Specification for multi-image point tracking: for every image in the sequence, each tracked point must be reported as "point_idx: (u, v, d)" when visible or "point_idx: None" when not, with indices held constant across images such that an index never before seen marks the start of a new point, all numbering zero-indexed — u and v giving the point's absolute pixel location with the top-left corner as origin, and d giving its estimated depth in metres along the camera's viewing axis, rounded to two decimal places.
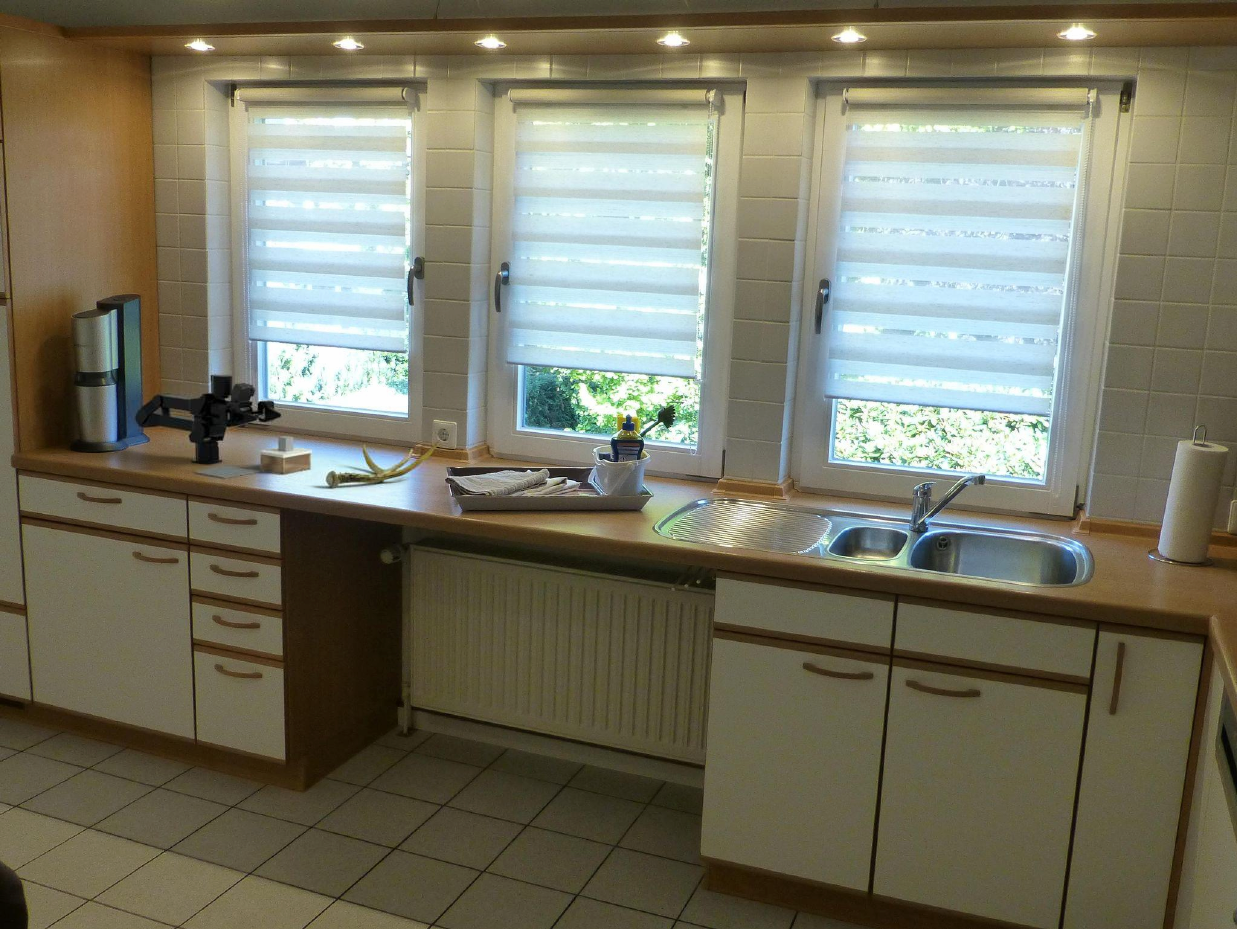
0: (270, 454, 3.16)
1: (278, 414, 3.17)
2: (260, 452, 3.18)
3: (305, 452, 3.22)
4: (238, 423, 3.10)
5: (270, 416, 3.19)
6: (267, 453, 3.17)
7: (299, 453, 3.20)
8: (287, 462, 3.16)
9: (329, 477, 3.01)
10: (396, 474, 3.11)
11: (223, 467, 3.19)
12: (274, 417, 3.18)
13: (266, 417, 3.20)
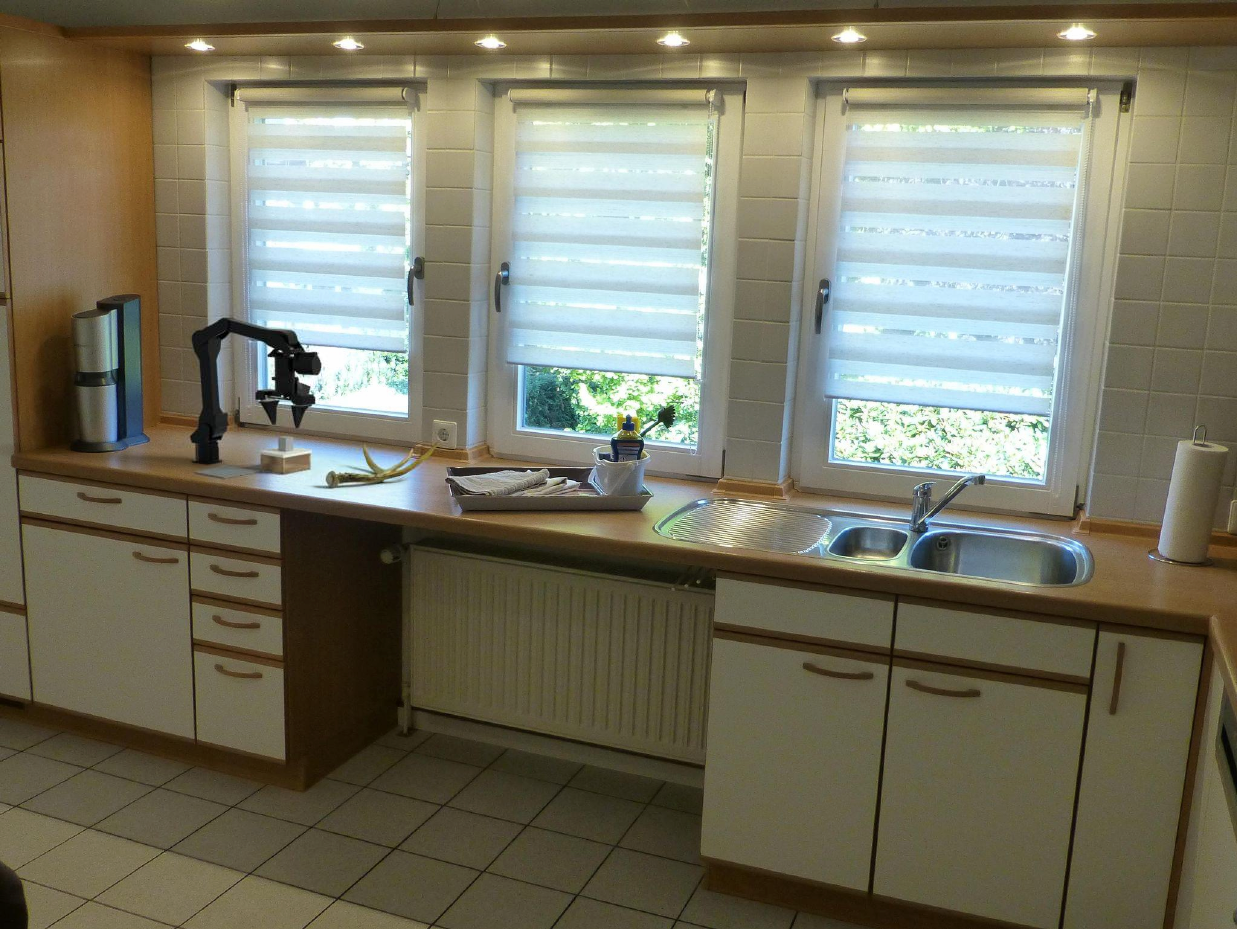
0: (270, 454, 3.16)
1: (275, 422, 3.22)
2: (260, 452, 3.18)
3: (305, 452, 3.22)
4: (296, 411, 3.14)
5: (271, 410, 3.21)
6: (267, 453, 3.17)
7: (299, 453, 3.20)
8: (287, 462, 3.16)
9: (329, 477, 3.01)
10: (396, 474, 3.11)
11: (223, 467, 3.19)
12: (271, 417, 3.21)
13: (269, 404, 3.20)
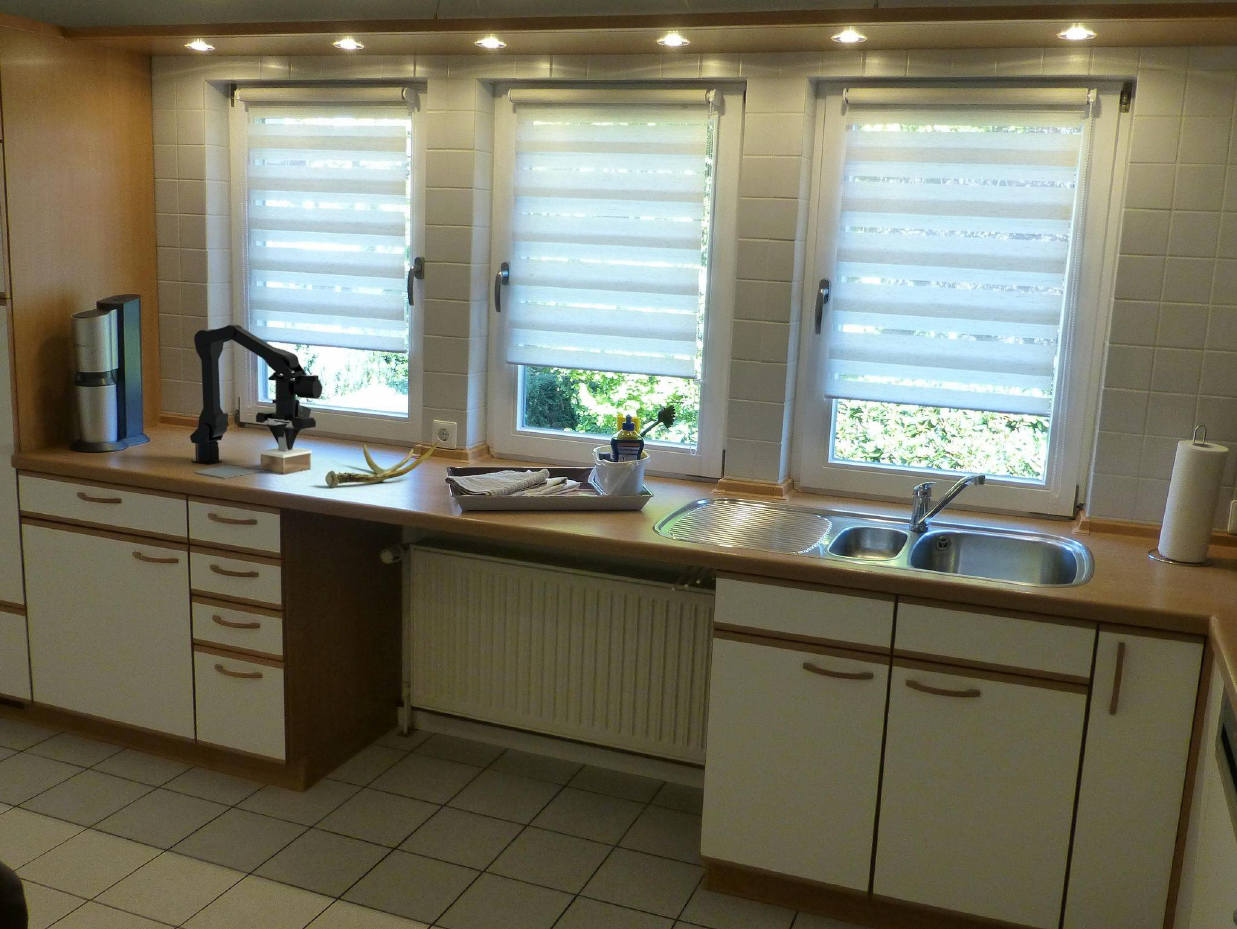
0: (270, 454, 3.16)
1: None
2: (260, 452, 3.18)
3: (305, 452, 3.22)
4: (289, 433, 3.17)
5: (279, 434, 3.21)
6: (267, 453, 3.17)
7: (299, 453, 3.20)
8: (287, 462, 3.16)
9: (328, 477, 3.02)
10: (396, 474, 3.11)
11: (223, 467, 3.19)
12: None
13: (276, 428, 3.20)
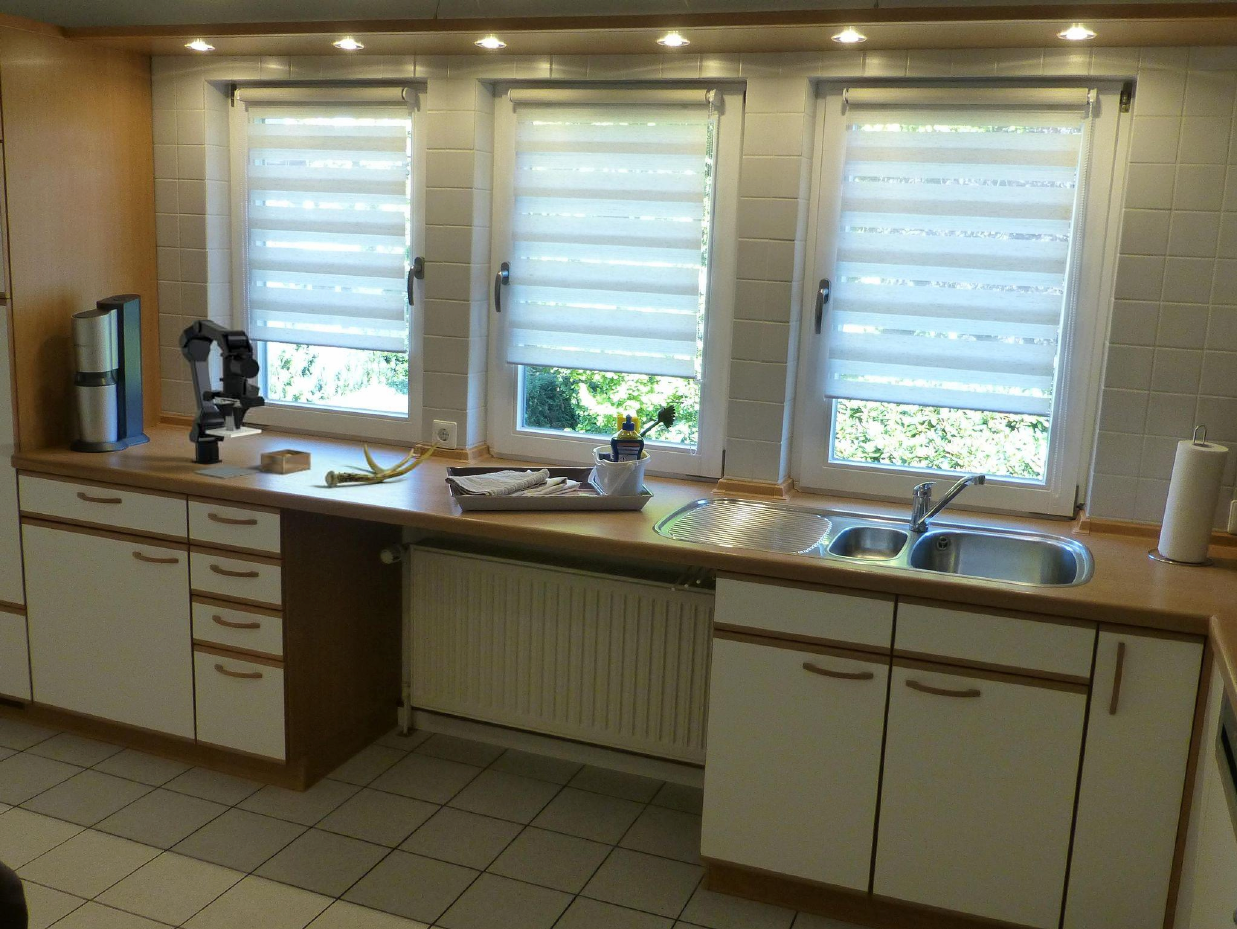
0: (217, 434, 3.08)
1: None
2: (207, 432, 3.10)
3: (254, 432, 3.14)
4: (237, 412, 3.09)
5: (226, 413, 3.12)
6: (214, 432, 3.09)
7: (247, 433, 3.12)
8: (287, 462, 3.16)
9: (328, 476, 3.02)
10: (395, 474, 3.11)
11: (223, 467, 3.19)
12: None
13: (224, 407, 3.11)
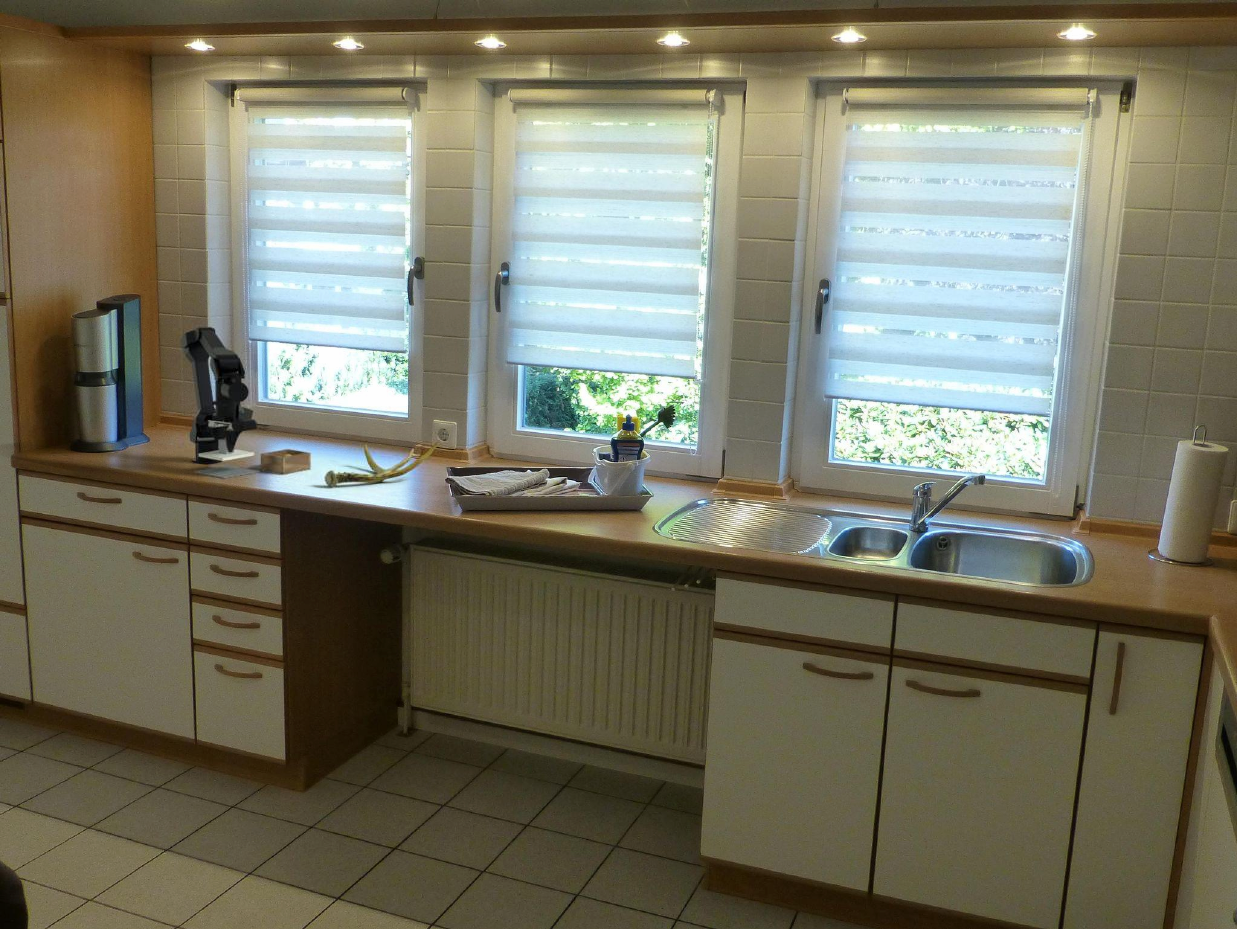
0: (209, 457, 3.08)
1: None
2: (199, 455, 3.10)
3: (246, 455, 3.14)
4: (229, 435, 3.09)
5: (219, 436, 3.13)
6: (206, 456, 3.09)
7: (240, 456, 3.12)
8: (287, 462, 3.16)
9: (327, 476, 3.02)
10: (395, 474, 3.11)
11: (223, 467, 3.19)
12: None
13: (217, 430, 3.12)
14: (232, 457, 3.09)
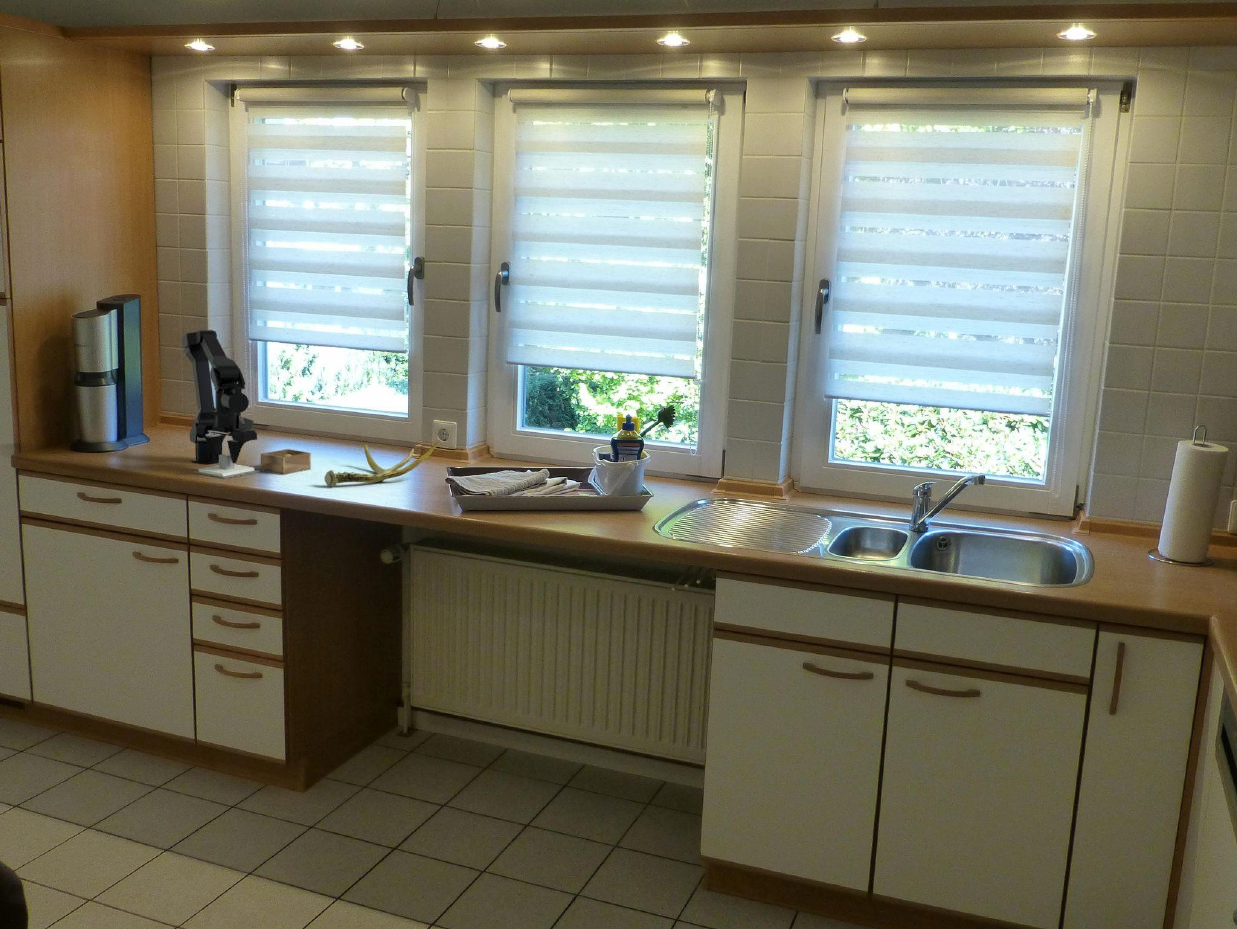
0: (210, 472, 3.09)
1: None
2: (200, 470, 3.11)
3: (246, 470, 3.15)
4: (233, 446, 3.09)
5: (216, 446, 3.14)
6: (207, 471, 3.10)
7: (240, 471, 3.12)
8: (287, 462, 3.16)
9: (327, 476, 3.02)
10: (395, 474, 3.11)
11: None
12: (217, 452, 3.14)
13: (214, 440, 3.13)
14: (232, 472, 3.10)
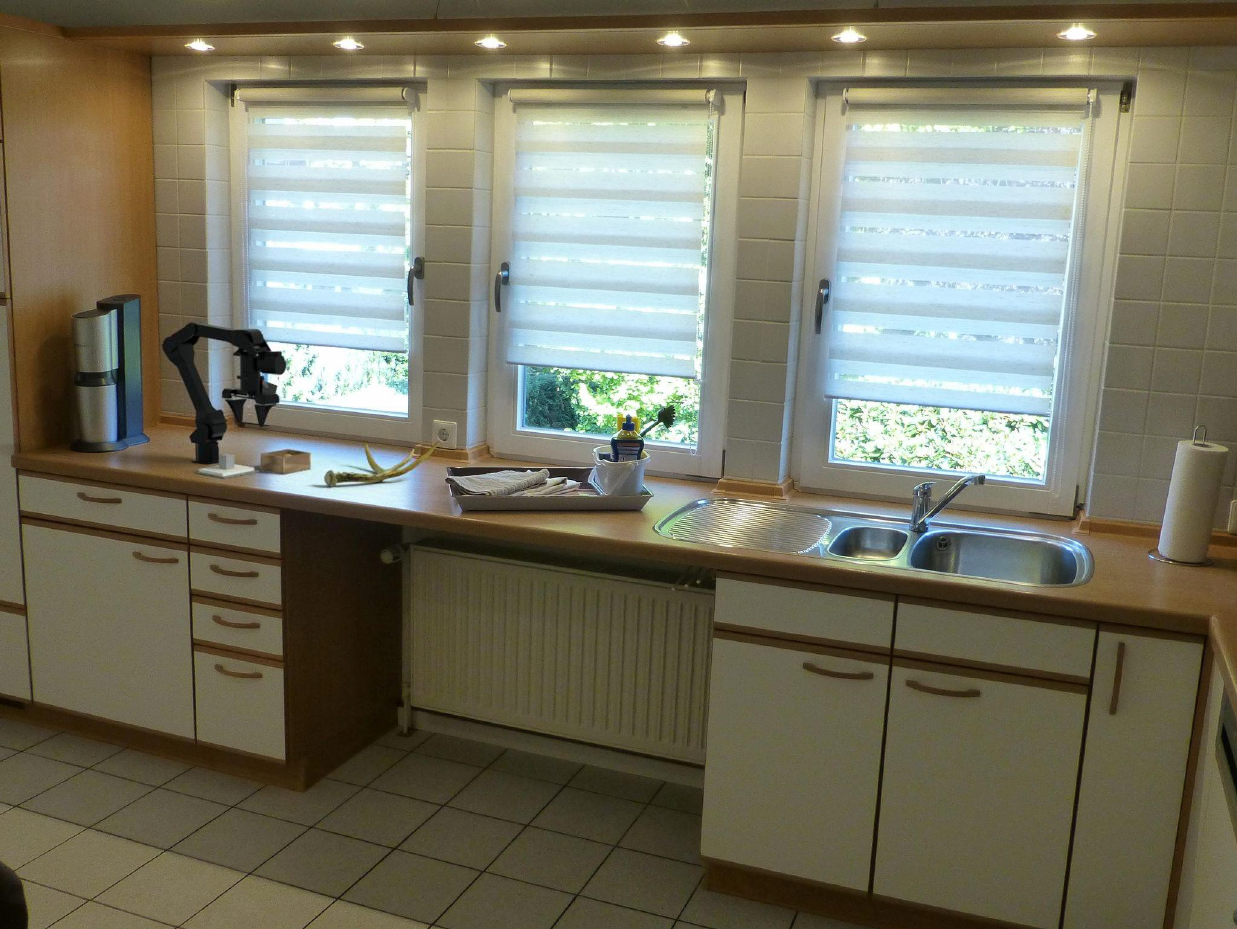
0: (210, 472, 3.09)
1: (241, 420, 3.23)
2: (200, 470, 3.11)
3: (246, 470, 3.15)
4: (260, 410, 3.15)
5: (237, 409, 3.22)
6: (207, 471, 3.10)
7: (240, 471, 3.12)
8: (287, 462, 3.16)
9: (327, 476, 3.02)
10: (395, 474, 3.11)
11: None
12: (237, 415, 3.22)
13: (235, 403, 3.21)
14: (232, 472, 3.10)
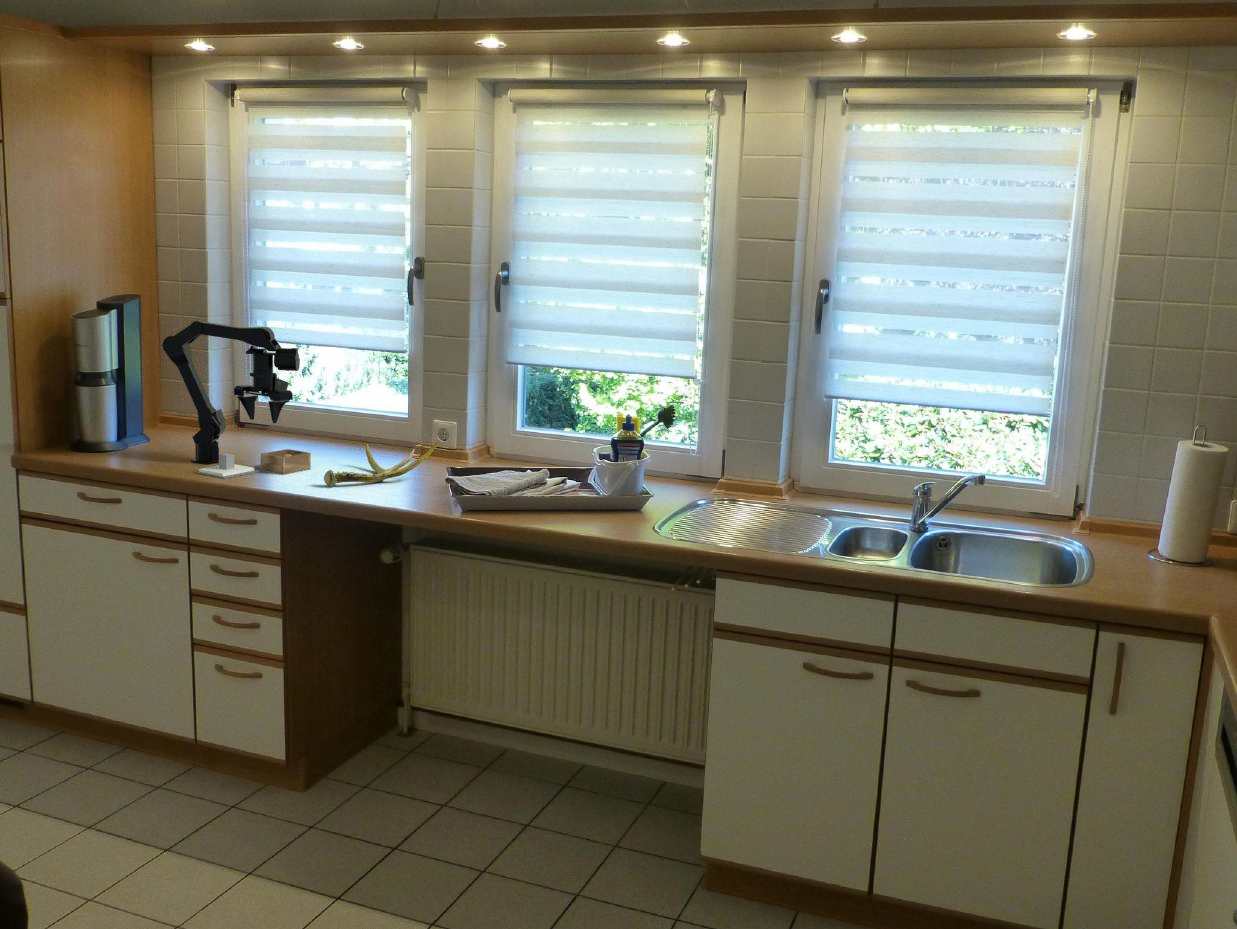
0: (210, 472, 3.09)
1: (253, 417, 3.29)
2: (200, 470, 3.11)
3: (246, 470, 3.15)
4: (274, 407, 3.21)
5: (249, 406, 3.27)
6: (207, 471, 3.10)
7: (240, 471, 3.12)
8: (287, 462, 3.16)
9: (326, 476, 3.02)
10: (395, 474, 3.11)
11: None
12: (250, 412, 3.28)
13: (247, 400, 3.27)
14: (232, 472, 3.10)
